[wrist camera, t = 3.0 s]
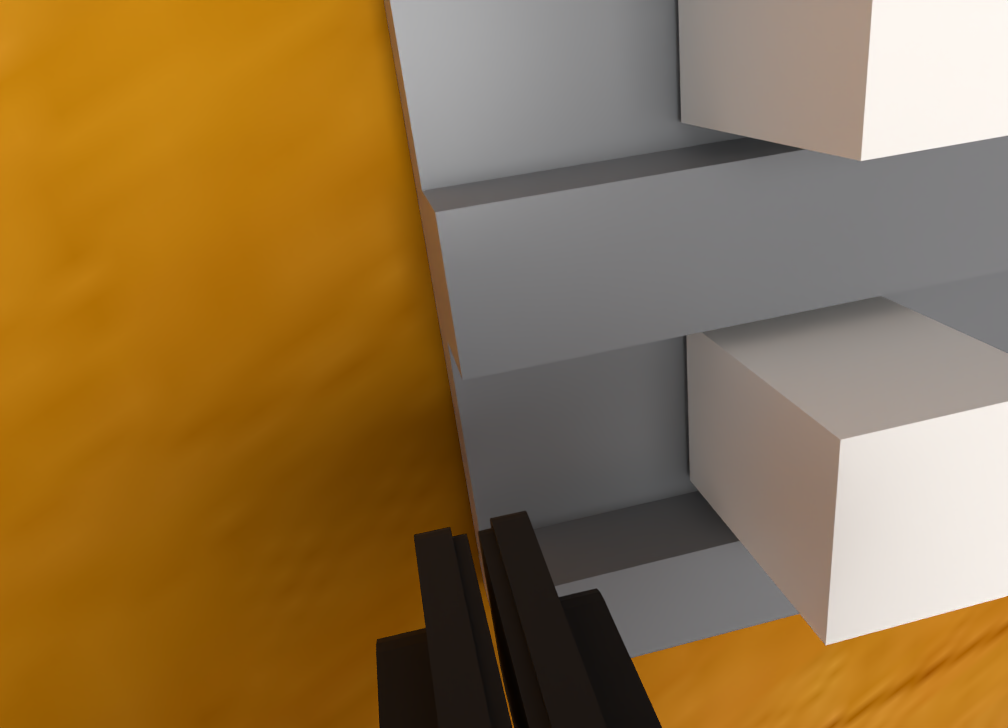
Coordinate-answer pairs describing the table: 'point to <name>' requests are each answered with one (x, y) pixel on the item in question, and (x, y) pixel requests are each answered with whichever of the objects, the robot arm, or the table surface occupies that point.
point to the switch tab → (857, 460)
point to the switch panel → (643, 280)
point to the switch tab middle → (846, 72)
